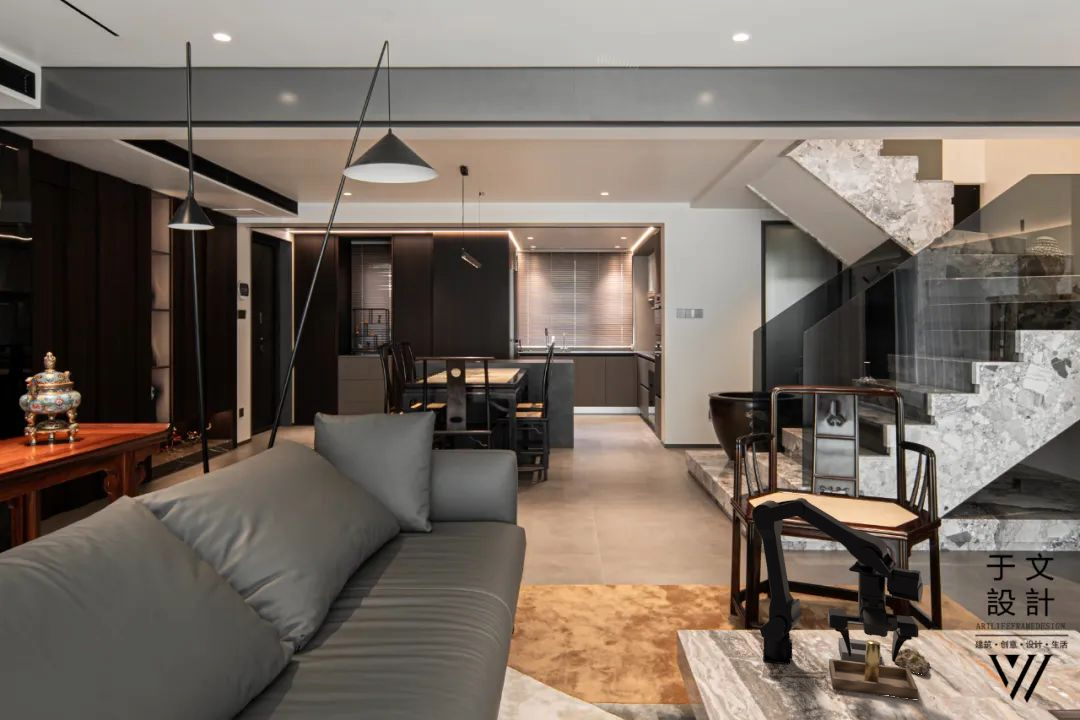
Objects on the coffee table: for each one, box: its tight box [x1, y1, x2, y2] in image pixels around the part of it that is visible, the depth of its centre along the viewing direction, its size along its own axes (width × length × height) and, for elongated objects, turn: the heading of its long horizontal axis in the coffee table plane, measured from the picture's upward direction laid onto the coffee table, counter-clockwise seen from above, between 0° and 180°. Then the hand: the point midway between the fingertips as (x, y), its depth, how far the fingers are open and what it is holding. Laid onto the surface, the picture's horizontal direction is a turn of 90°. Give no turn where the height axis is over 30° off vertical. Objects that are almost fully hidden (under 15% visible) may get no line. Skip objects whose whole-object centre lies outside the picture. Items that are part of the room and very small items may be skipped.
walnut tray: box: [828, 658, 919, 700], centre depth 162 cm, size 18×11×2 cm, turn 72°
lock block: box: [838, 637, 883, 665], centre depth 176 cm, size 9×9×3 cm
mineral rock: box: [895, 648, 931, 676], centre depth 171 cm, size 11×4×8 cm
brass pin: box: [864, 639, 881, 683], centre depth 163 cm, size 3×3×9 cm
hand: (871, 658), depth 162 cm, fingers open, 9 cm apart
